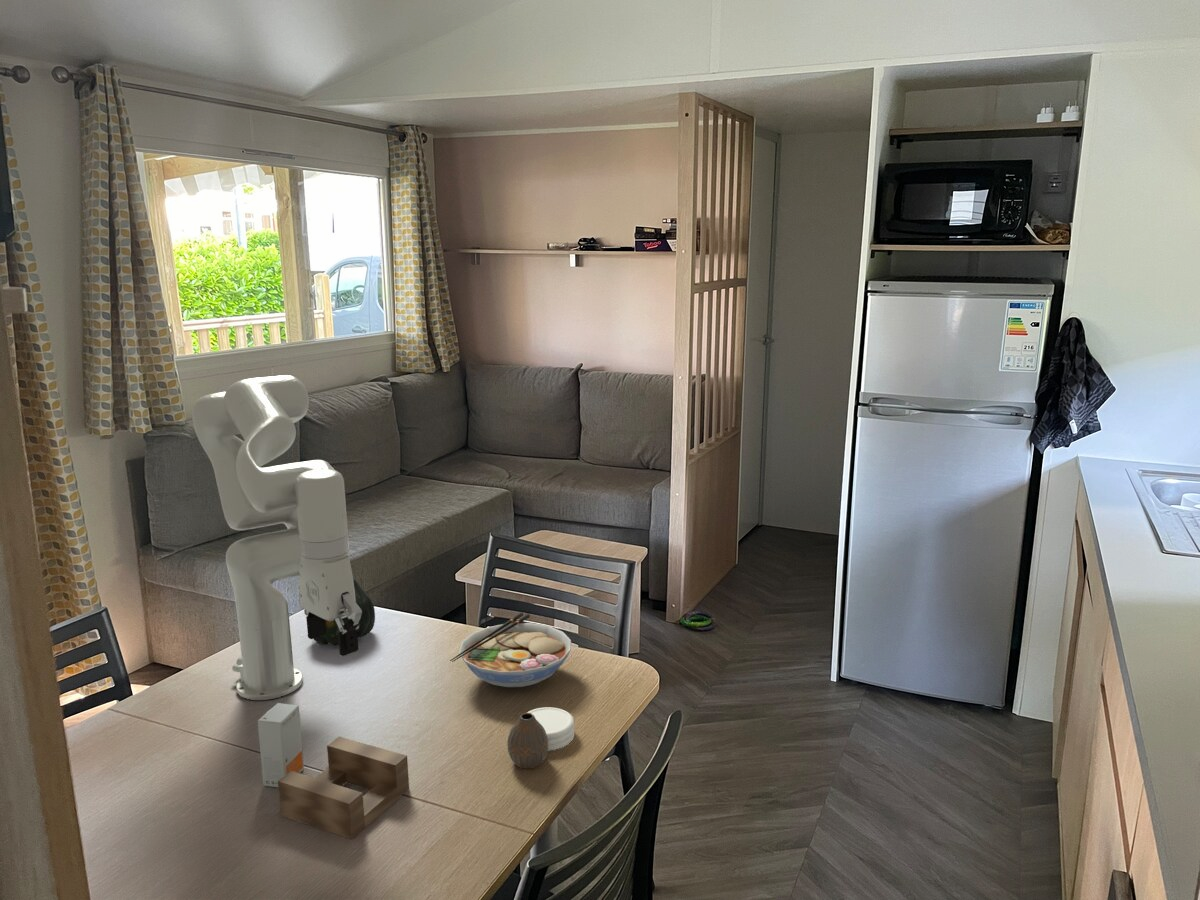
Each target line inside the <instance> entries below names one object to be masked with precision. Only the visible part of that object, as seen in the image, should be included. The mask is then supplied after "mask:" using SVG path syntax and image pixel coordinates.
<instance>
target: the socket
mask: <svg viewBox="0 0 1200 900" xmlns="http://www.w3.org/2000/svg"><path fill="white" fill-rule="evenodd" d="M326 750H327V751H326V752H327V763H328V767H326V768H325V769H324V770H322V772H321V773H320V772H319V774H318V775H317V776H315V777H314V776H309V775H307V774H303V773H301V772H300V773H297V772H294V771H291V772H289V773H288V774H287V775H285V776H284V777H283V778H281V779H280V780H278V787H277V788H278V795H279V796H278V798H279V806H280V809H279V810H280V815H281V816H283V817H286V818H287V819H291V820H294V821H296V822H300V823H303V824H306V825H309V826H311V827H315V828H318V829H321V830H323V831H326V832H329V833H333V834H335V835H339V836H342V837H345V838H347V839H350V840H353V839H354V838H356V836H358V835H359V834H360V833H361V832H362V831H363V830H365V828H366V827H367V826H369V825H371V823H373V821H375V819H377V818H378V817H379V816H380V815H382V814H383V813H384V812H385V811H386V810H387V809H388V808H389V807H390V806H391V805H392V804H394V803H395V802H397V800H398V799H399V798H400V797H402V795H404V794H405V793H406V792H407V791H409V789H410V781H409V780H410V779H409V763H408V755H407V754H406V755H405V754H402V753H399V752H395V751H392V750H388V749H384V748H382V747H377V746H374V745H372V744H371V745H370V744H367V743H364V742H360V741H356V740H353V739H349V738H345V737H343V736H342V737H341V736H338V737H336V738H335V739H334V740H332V741H331V742H330V743H328V744H327V745H326ZM346 784H349V785H353V786H356V787H358V788H363V789H365V790H368V791H367V792H366V793H365V794H363V792H361V791H358V790H354V789H351V788H348V787H346V786H345V787H344V785H346Z"/></svg>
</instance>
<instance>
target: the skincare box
mask: <svg viewBox="0 0 1200 900" xmlns="http://www.w3.org/2000/svg"><path fill="white" fill-rule="evenodd" d="M300 715H301V714H300V705H297V704H290V703H281V702H277V703H276V704H274V706H273V707H271V708H269V709H268V710H267V711H266V712H265V713H264V714H263V715H262V716H261V717H260V718H259V719H258V720H257V729H258V732H257V733H258V741H259V751H260V763H261V774H262V775H261V776H262V785H263V786H264V787H271V788H278V780H280V779H281V778H283V777H284V776H285V775H287V774H288V773H289V772H291V771H294V772H297V773H300V774H301V773H302V772H303V770H304V769H305V764H304V752H303V742H302V741H303V740H302V728H301V718H300V717H301V716H300Z"/></svg>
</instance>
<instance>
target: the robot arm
mask: <svg viewBox="0 0 1200 900" xmlns="http://www.w3.org/2000/svg"><path fill="white" fill-rule="evenodd" d="M309 398H310V397H309V394H308V390H307V388H306V387H305V385H304V383H303V382H302V381H301V380H300V379H299V378H297V377H296V376H293V375H288V374H284V375H283V374H282V375H275V376H273V375H272V376H270V375H269V376H262V377H251V378H245V379H241V380H238V381H236V382H234V383H232V384H230V385H229V387H228V388H227V389H226V391H220V392H215V393H210V394H206V395H203V396H201V397H199V398H198V399H197V400H195V402H194V403H193V405H192V408H191V418H192V425H193V429H194V432H195V435H196V437H197V439H198V441H199V443H200V445H201V446H202V448H203V451H204V452H205V453H206V455H207V457H208V459H209V461H210V462H211V465H212V468H213V472H214V476H215V481H216V486H217V491H218V495H219V498H220V503H221V508H222V513H223V516H224V519H225V521H226V523H227V525H228V526H229V528H230V529H232V530H234V531H248V530H254V529H259V528H266V527H269V526H275V525H280V524H283V525H285V527H286V528H287V529H286V528H285V529H281V530H277V531H271V532H264V533H261V534H260V533H259V534H255V535H251V536H246V537H243V538H241V539H237V540H236V541H234V542H232V544H230V545H229V547H228V548H227V550H226V552H225V564H226V567H227V571H228V576H229V577H230V582H231V585H232V590H233V594H234V595H233V596H234V601H235V607H236V616H237V617H236V618H237V625H238V633H239V635H238V637H239V645H240V655H241V656H239V657H238V658H237V659H236V664H233V666H232V667H231V668H232V669H231V670H232V672H236V673H240V675H239V676H240V679H239V680H238V681H237V683H236V686H235V687H236V693H237V695H238V694H239V695H238V696H240V697H241V698H243V699H245V698H246V700H249V699H250V700H251V701H267V700H273V699H277V698H281V696H282V697H284V696H286V695H289V694H291V693H293V692H295V691H297V690H298V689H299V688H300V687H301V685H302V684H303V682H304V678H303V673H302V671H301V670H299V669H298V668H295V667H294V657H293V655H294V654H293V647H292V634H291V625H290V613H289V603H288V600H287V598H286V596H285V594H284V593H283V592H282V591H281V590H279V589H278V588H277V587H275V586H274V585H273V584H274V583H275V582H277V581H280V580H284V579H288V578H293V577H297V576H298V577H299V578H298V579H299V586H298V590H299V597H300V598H299V599H300V605H301V608H302V609H303V611H304V612H303V613H304V615H305V618H306V627H307V629H306V630H307V638H309V639H310V640H314V639H313V638H316V637H319V636H322V635H325V634H326V633H327V630H326V620H327V621H333V620H334V619H335V621H336V623H337V625H338V627H339V629H340V632H339V633H338V640H339V644H338V651H339V653H338V654H339V656H342V657H345V656H347V655H350V654H353V653H355V652H357V651H359V648H360V647H359V638H358V634H357V629H358V628H359V624H360V621H361V620H360V618H361V614H362V610H361V608H360V607H359V606H358V605H357V603H356V601H355V589H354V582H353V578H354V577H353V570H352V566H351V562H350V561H351V560H350V556H349V554H350V553H351V552H350V544H349V531H348V530H349V529H348V517H347V515H348V514H347V505H346V502H347V501H346V489H345V478H344V477H343V474H342V473H341V472H340V471H338V470H335V469H334V467H332V465H331V464H330V463H329V462H328V461H326V460H323V459H312V460H305V461H299V462H298V461H297V462H291V463H285V464H284V463H283V464H278V465H271V466H266V467H262V466H264V465H266V464H268V463H270V462H271V461H274V460H275V459H276V458H278V457H280V456H282V455H284V453H285V452H287V451H288V450H289V449H290V448H291V447H292V445H293V443H294V442H295V440H296V437H297V436H296V435H297V430H296V426H295V424H296V423H297V422H298V421H300V420H302V419H303V418H304V417H305V416H306V414H307V413H308V411H309V406H310V400H309ZM236 435H241V437H242V438H243V439H241V438H239V437H238V436H236ZM340 611H344V612H343V613H340ZM339 613H340V614H339ZM308 615H309V616H308ZM345 617H348V619H349V620H348V621H347V622H346V623H345V624H344V622H343V620H342V618H345Z"/></svg>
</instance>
